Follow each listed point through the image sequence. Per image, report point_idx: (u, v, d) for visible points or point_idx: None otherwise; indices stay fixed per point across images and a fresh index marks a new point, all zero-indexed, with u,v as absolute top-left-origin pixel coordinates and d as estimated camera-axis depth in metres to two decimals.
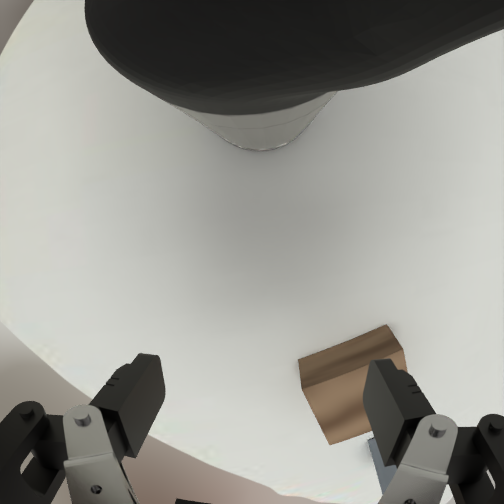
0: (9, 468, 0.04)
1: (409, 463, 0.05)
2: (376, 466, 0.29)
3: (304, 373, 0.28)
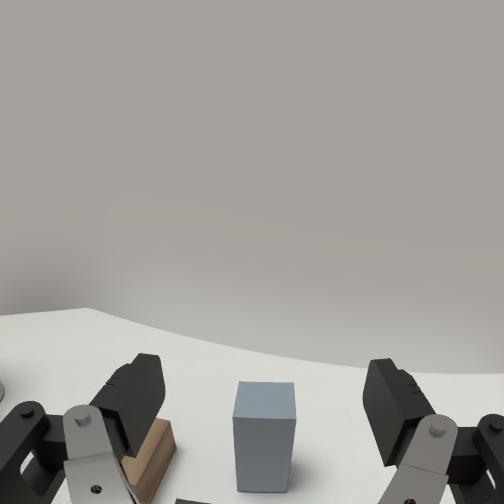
0: (9, 468, 0.04)
1: (409, 463, 0.05)
2: None
3: None
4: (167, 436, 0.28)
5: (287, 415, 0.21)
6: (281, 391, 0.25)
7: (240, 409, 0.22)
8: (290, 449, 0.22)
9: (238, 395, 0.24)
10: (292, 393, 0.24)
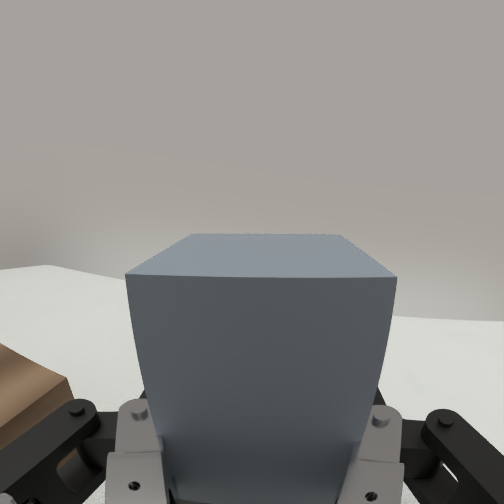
0: (44, 465, 0.04)
1: (359, 456, 0.05)
2: None
3: None
4: None
5: (356, 271, 0.05)
6: (312, 240, 0.09)
7: (167, 261, 0.06)
8: (355, 438, 0.06)
9: (177, 245, 0.08)
10: (346, 243, 0.08)
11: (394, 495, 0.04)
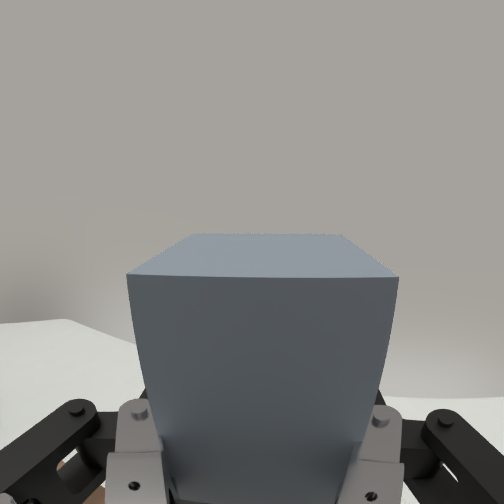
0: (44, 465, 0.04)
1: (359, 456, 0.05)
2: None
3: None
4: None
5: (357, 271, 0.05)
6: (314, 240, 0.09)
7: (169, 261, 0.06)
8: (357, 438, 0.06)
9: (178, 245, 0.08)
10: (347, 243, 0.08)
11: (394, 495, 0.04)
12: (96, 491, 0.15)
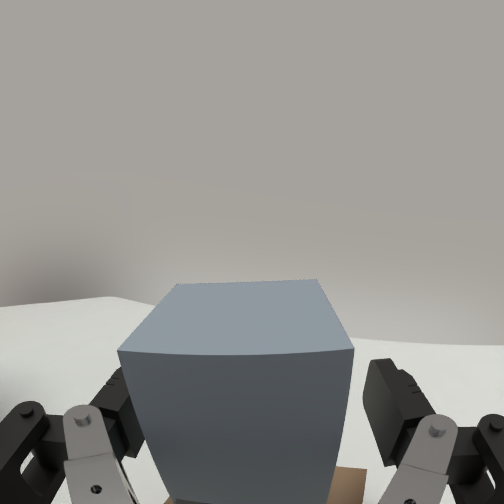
0: (9, 468, 0.04)
1: (409, 463, 0.05)
2: None
3: None
4: None
5: (317, 342, 0.06)
6: (287, 292, 0.09)
7: (153, 331, 0.07)
8: (328, 469, 0.06)
9: (162, 304, 0.09)
10: (319, 294, 0.09)
11: None
12: None
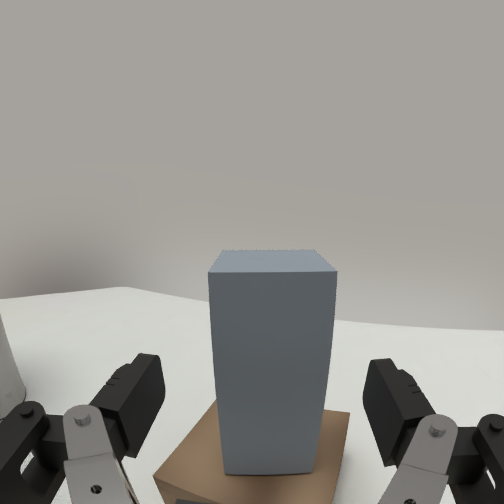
0: (9, 468, 0.04)
1: (409, 463, 0.05)
2: (218, 412, 0.13)
3: None
4: None
5: (318, 268, 0.12)
6: (297, 254, 0.15)
7: (224, 266, 0.13)
8: (326, 362, 0.12)
9: (220, 258, 0.14)
10: (316, 255, 0.15)
11: None
12: None
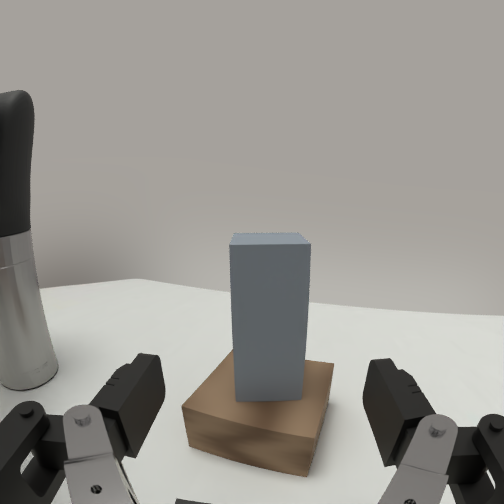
0: (9, 468, 0.04)
1: (409, 463, 0.05)
2: (233, 345, 0.20)
3: None
4: (330, 383, 0.25)
5: (298, 242, 0.19)
6: (286, 235, 0.22)
7: (238, 242, 0.20)
8: (305, 305, 0.19)
9: (234, 237, 0.21)
10: (299, 235, 0.22)
11: None
12: None
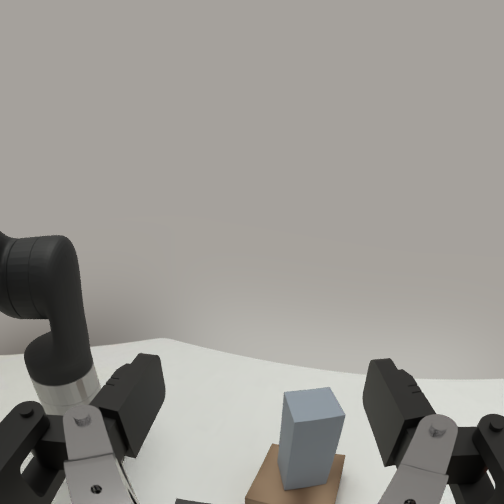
0: (9, 468, 0.04)
1: (409, 463, 0.05)
2: (287, 465, 0.25)
3: None
4: None
5: (337, 413, 0.25)
6: (323, 395, 0.28)
7: (297, 415, 0.25)
8: (336, 443, 0.25)
9: (289, 404, 0.27)
10: (332, 395, 0.28)
11: None
12: None
